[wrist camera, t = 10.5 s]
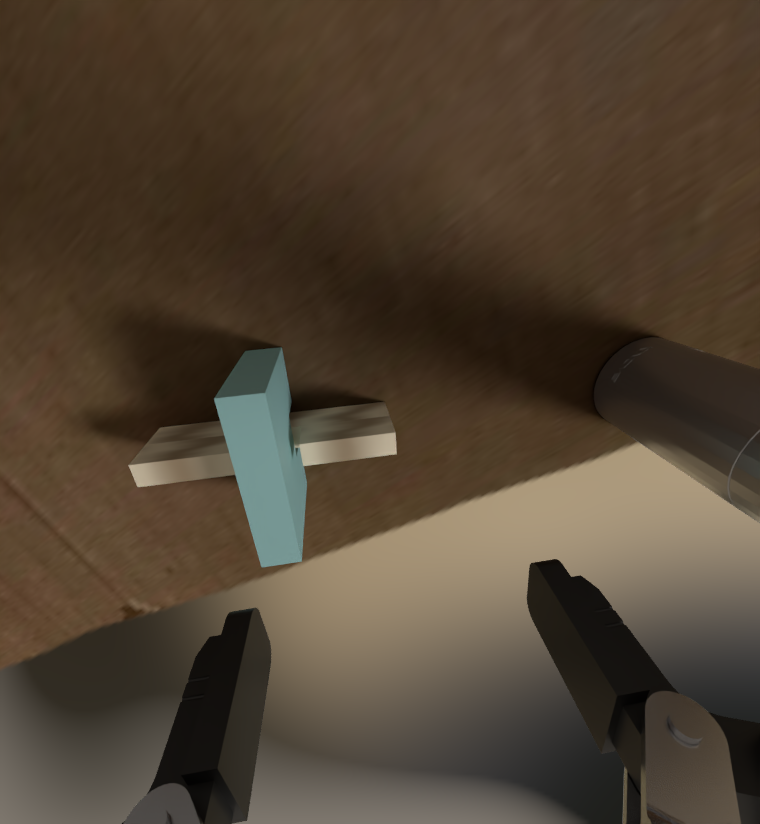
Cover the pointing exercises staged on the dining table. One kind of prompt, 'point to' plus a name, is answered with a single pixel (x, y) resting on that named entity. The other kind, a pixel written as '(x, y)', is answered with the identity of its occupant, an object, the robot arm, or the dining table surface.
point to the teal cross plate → (265, 453)
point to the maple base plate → (312, 431)
